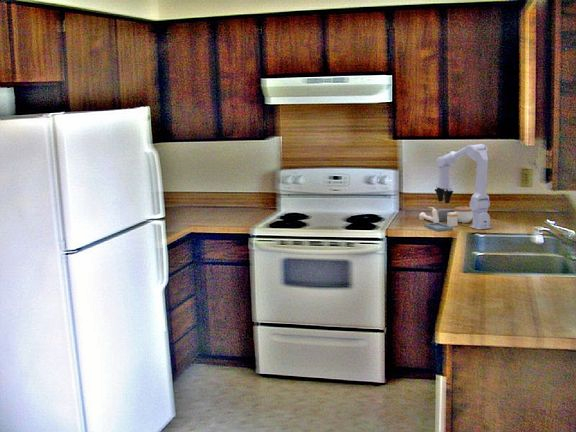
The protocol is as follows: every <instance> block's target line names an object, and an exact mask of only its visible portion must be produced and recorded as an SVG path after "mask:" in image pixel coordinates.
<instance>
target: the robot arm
mask: <svg viewBox="0 0 576 432" xmlns="http://www.w3.org/2000/svg"><path fill="white" fill-rule="evenodd" d="M488 149H489V148H488V147H487V146H486V144H484V143H479V144H468V145H465V147H463V148H461V149H459V150H458V151H455V150H454V151H453V150H451V151H449V153H446V154H444V155H443V156H438V158H437V157H436V165H437V167H438V184H435V186H436V187H435V188H434V192H435V193H436V196H437V200H438V202H443V201H444V203H445V204H450V201H451V197H452V195H453V194H454V190H453V187H452V186H450V169H451V166H452V164H454V163H457V162H458V161H459V160H460V158H461V157H464V156H467V157H468V158H469V159H472V160H473V161H474V162H475V163H476V170H475V171H476V172H475V175H476V176H475V188H474V193H473V194H472V196H471V197H470V201H469V207H470V208H471V210H472V211H473V218H472V225H469V226H468V227H469V228H473V229H476V230H486V229H487V230H488V229H492V227H491V216H490V214H489V213H488V209H489V208H490V207H491V201H490V196H489V194H487V181H488V168H489V157H488Z"/></svg>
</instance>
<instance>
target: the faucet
mask: <svg viewBox="0 0 576 432" xmlns="http://www.w3.org/2000/svg"><path fill="white" fill-rule="evenodd" d="M427 208H429V209H432V210H431V215H427V214H426V212H424V211H423V212H420V213H419V215H418V216H419V219H418V220H420V221H421V220H422V221H425V220H424V219H426V220H427V221H429V222H432V223H438V222H439V218H438V213H437V209H436V208H435V207H431V206H428V207H427Z"/></svg>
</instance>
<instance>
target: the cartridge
mask: <svg viewBox="0 0 576 432" xmlns="http://www.w3.org/2000/svg"><path fill="white" fill-rule="evenodd" d="M458 223H459V222H458V213H455V212H454V211H452V212H449V213H447V221H446V225H448V226H452V227H458Z"/></svg>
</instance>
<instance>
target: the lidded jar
mask: <svg viewBox="0 0 576 432" xmlns="http://www.w3.org/2000/svg"><path fill="white" fill-rule="evenodd" d="M465 205H466V204H462V206H456V207H453V210H454V211H453V212H455V213H458V223H460V222H462V223H463V224H466V223H467V224H468V223H470V222H471V221H472V220H473V211H472V210H471V208H470V206H465ZM462 223H461V224H462Z"/></svg>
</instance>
